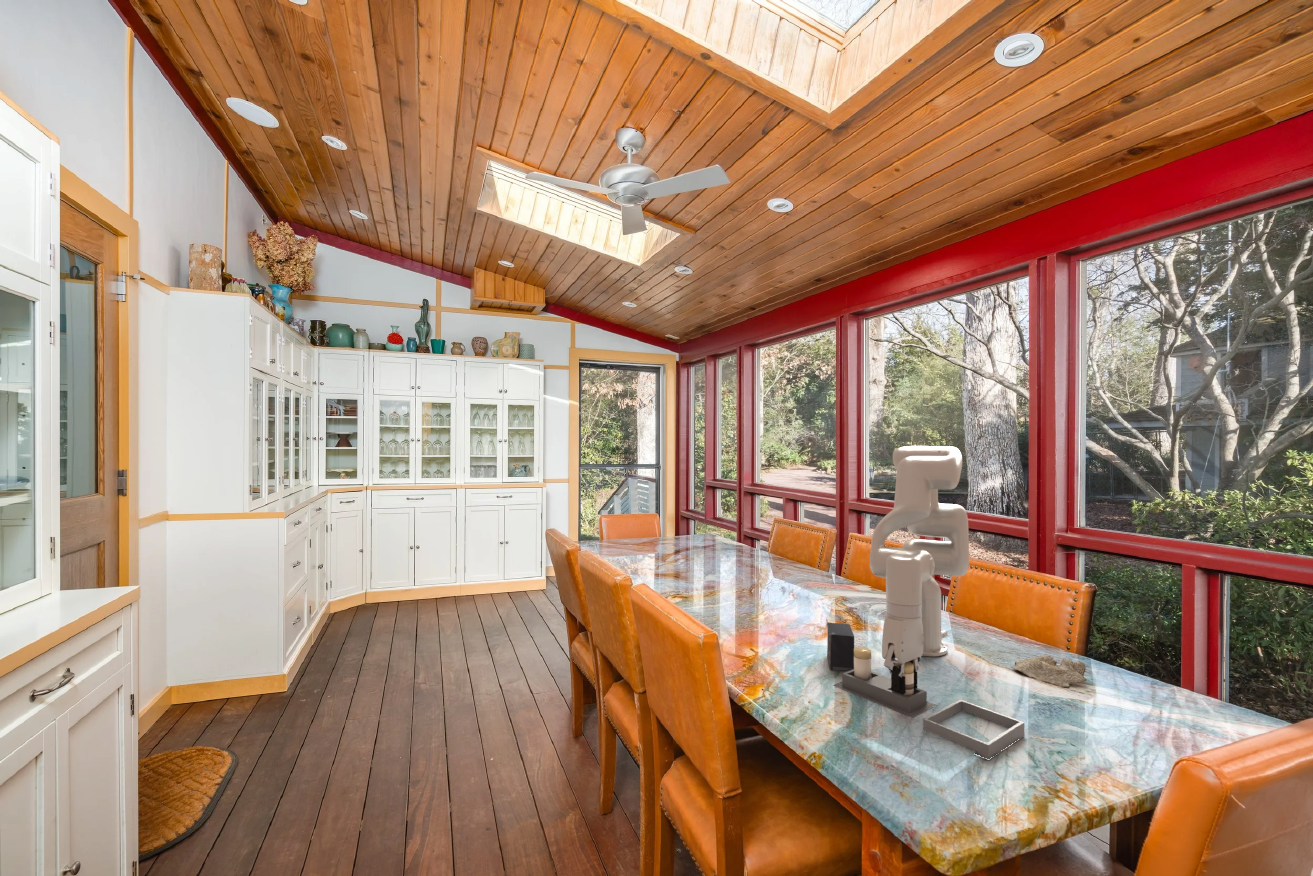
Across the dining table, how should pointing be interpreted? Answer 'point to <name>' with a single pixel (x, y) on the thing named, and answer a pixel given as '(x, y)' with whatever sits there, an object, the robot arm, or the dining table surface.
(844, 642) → the small box
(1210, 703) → the dining table surface
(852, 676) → the fuse block
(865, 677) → the cylinder
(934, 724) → the tray
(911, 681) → the fuse
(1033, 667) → the coral
